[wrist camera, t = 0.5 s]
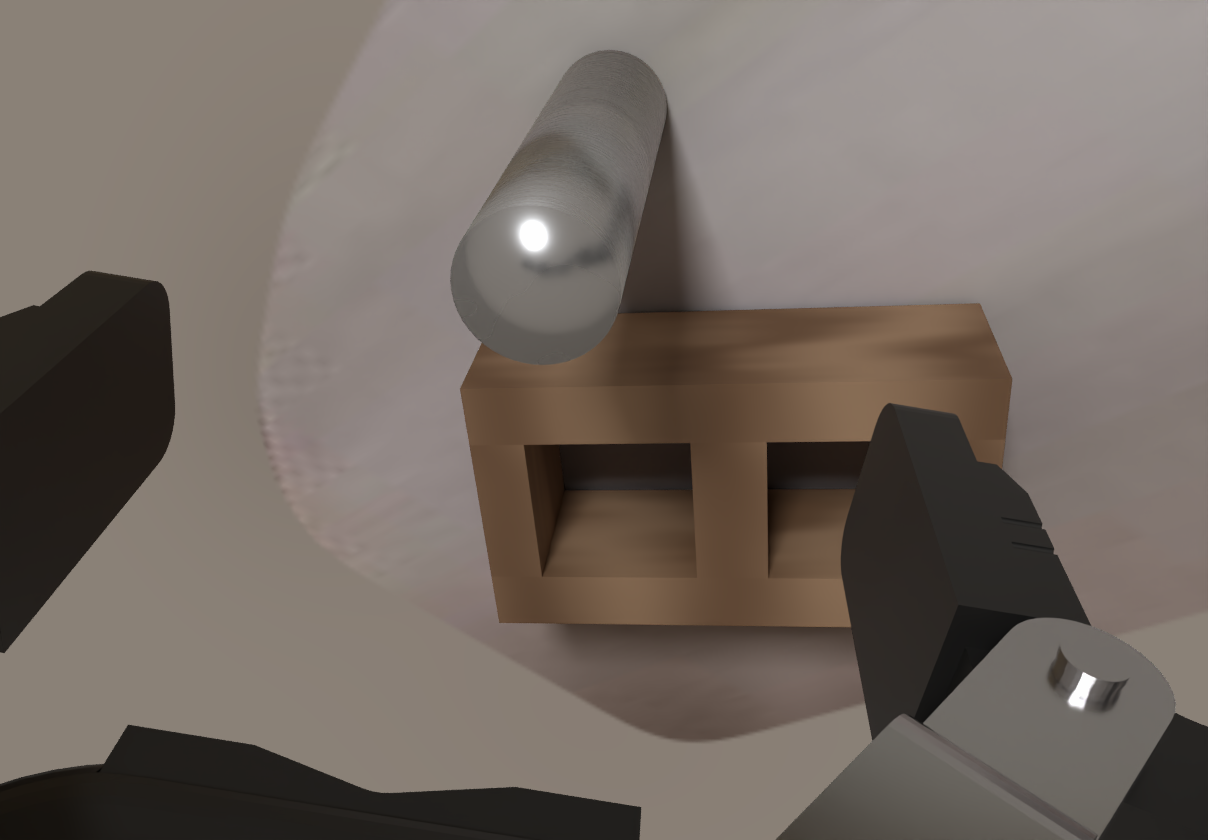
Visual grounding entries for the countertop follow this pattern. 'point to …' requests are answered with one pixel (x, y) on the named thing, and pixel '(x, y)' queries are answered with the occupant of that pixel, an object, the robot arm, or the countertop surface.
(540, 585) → the hole block
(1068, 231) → the countertop surface
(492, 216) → the peg
